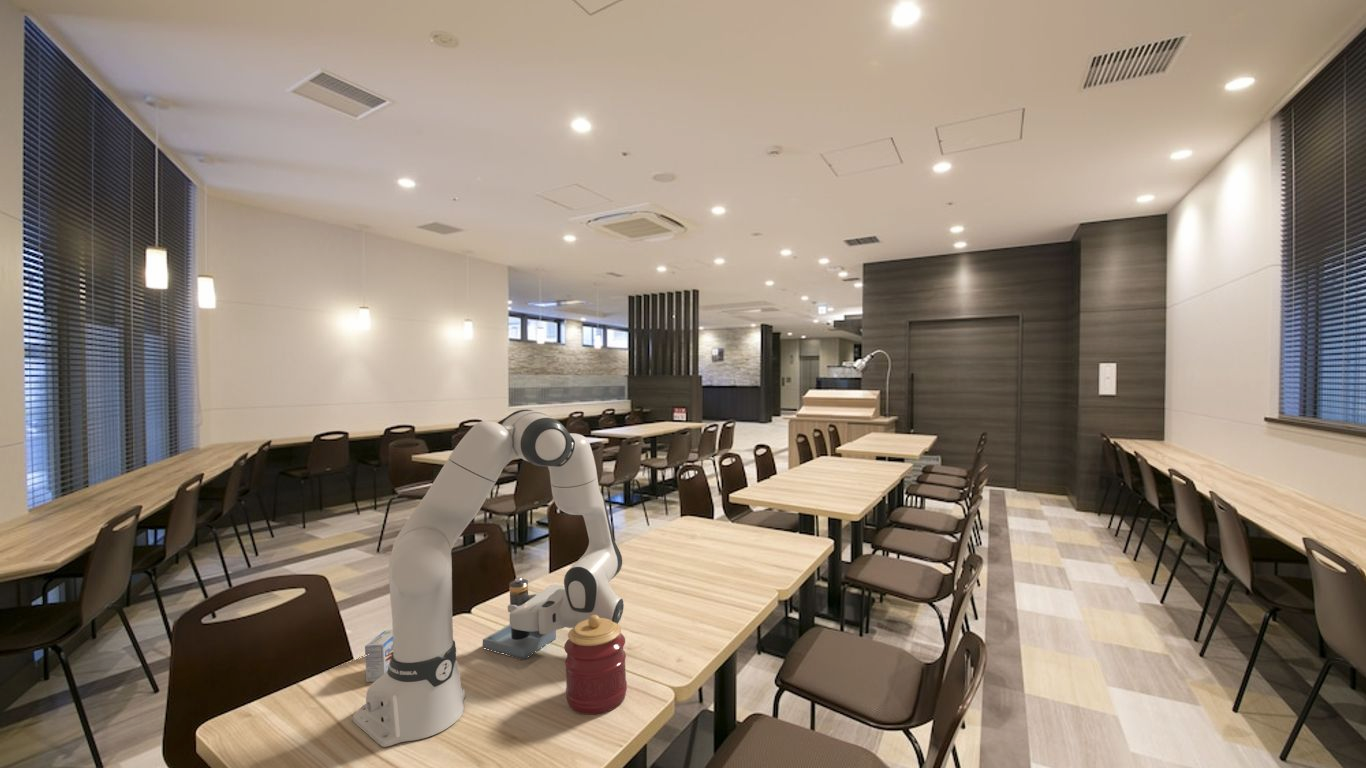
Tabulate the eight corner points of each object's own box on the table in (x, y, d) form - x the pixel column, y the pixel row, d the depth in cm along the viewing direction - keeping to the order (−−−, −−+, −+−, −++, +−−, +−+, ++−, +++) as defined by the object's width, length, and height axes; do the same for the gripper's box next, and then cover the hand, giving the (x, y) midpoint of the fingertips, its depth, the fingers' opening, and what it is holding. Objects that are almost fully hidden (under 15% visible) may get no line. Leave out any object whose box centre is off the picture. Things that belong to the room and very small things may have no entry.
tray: (483, 649, 137) (482, 639, 137) (516, 629, 148) (516, 620, 148) (524, 660, 131) (523, 649, 131) (556, 638, 142) (555, 629, 142)
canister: (591, 675, 123) (589, 599, 123) (638, 689, 117) (636, 609, 117) (553, 706, 111) (550, 622, 111) (602, 723, 105) (599, 634, 105)
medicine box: (384, 682, 123) (383, 645, 123) (365, 682, 123) (364, 645, 123) (402, 664, 131) (401, 629, 131) (384, 665, 131) (383, 629, 131)
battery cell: (507, 636, 139) (505, 579, 139) (522, 629, 143) (520, 574, 143) (518, 641, 136) (516, 583, 136) (533, 634, 140) (531, 577, 140)
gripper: (581, 580, 145) (538, 576, 150) (540, 611, 126) (491, 606, 130) (582, 603, 145) (538, 599, 150) (541, 638, 126) (492, 632, 130)
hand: (516, 602), depth 140 cm, fingers closed on battery cell, 5 cm apart
